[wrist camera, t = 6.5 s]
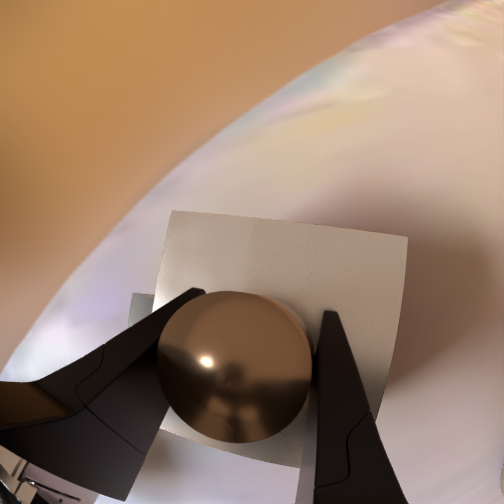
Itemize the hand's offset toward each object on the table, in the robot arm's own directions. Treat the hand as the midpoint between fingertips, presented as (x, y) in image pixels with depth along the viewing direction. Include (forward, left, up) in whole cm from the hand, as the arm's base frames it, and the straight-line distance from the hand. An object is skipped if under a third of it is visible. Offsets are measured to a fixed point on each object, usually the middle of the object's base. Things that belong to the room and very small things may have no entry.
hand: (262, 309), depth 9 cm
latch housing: (-1, -1, -8) cm, 8 cm away
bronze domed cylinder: (-1, -1, -7) cm, 7 cm away
